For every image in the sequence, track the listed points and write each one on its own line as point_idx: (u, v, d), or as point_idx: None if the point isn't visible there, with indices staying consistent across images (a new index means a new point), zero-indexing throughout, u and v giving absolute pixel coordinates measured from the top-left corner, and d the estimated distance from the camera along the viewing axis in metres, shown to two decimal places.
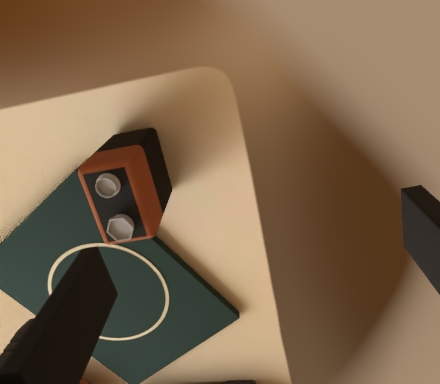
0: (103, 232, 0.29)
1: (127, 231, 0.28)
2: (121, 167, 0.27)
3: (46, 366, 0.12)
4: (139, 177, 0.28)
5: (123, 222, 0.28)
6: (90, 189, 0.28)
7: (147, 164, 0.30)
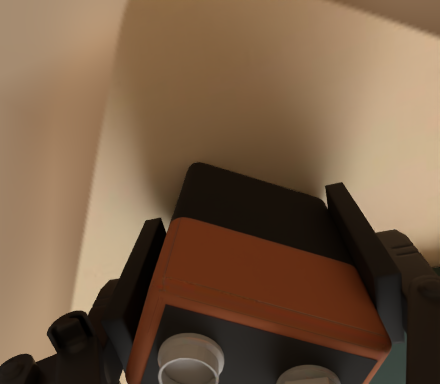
0: None
1: None
2: (164, 310, 0.10)
3: (137, 317, 0.13)
4: (218, 285, 0.10)
5: None
6: None
7: (222, 230, 0.12)
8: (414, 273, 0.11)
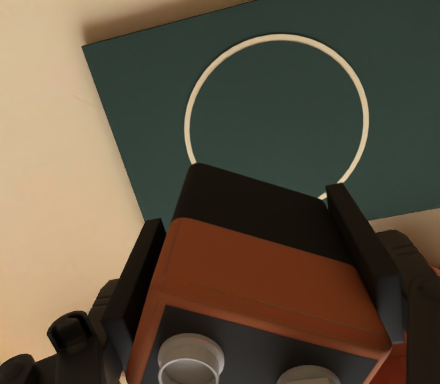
0: None
1: None
2: (164, 310, 0.10)
3: (137, 316, 0.13)
4: (218, 285, 0.10)
5: None
6: None
7: (222, 230, 0.12)
8: (414, 274, 0.11)
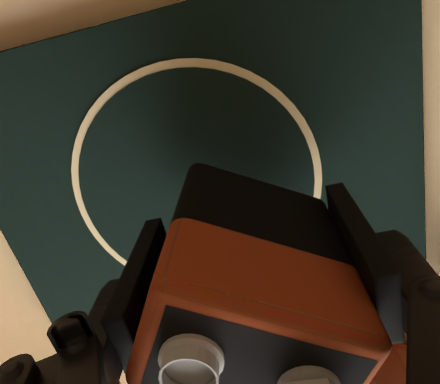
0: None
1: None
2: (164, 311, 0.10)
3: (137, 316, 0.13)
4: (218, 285, 0.10)
5: None
6: None
7: (222, 230, 0.12)
8: (414, 273, 0.11)
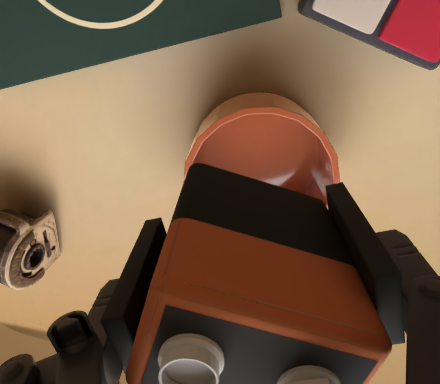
0: None
1: None
2: (164, 311, 0.10)
3: (137, 316, 0.13)
4: (218, 285, 0.10)
5: None
6: None
7: (222, 230, 0.12)
8: (414, 273, 0.11)
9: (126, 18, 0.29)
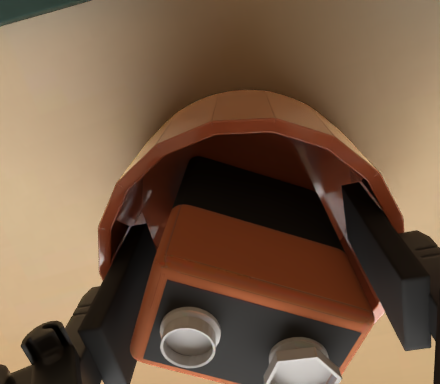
0: None
1: (317, 367, 0.11)
2: (165, 285, 0.10)
3: (117, 326, 0.13)
4: (215, 262, 0.11)
5: (292, 361, 0.11)
6: None
7: (219, 216, 0.13)
8: None
9: None
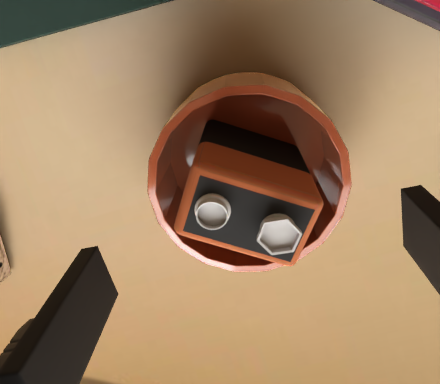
0: (272, 258, 0.19)
1: (288, 230, 0.18)
2: (198, 179, 0.18)
3: (46, 366, 0.12)
4: (228, 167, 0.18)
5: (273, 226, 0.18)
6: (207, 234, 0.19)
7: (229, 149, 0.21)
8: None
9: None
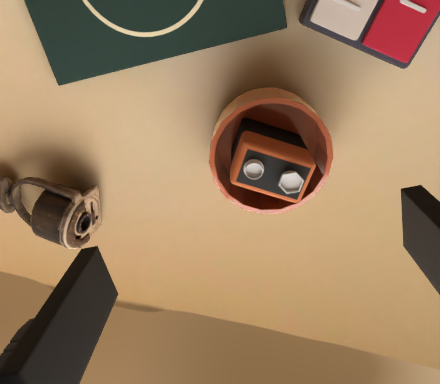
0: (287, 197, 0.34)
1: (296, 179, 0.32)
2: (246, 151, 0.32)
3: (46, 366, 0.12)
4: (262, 144, 0.32)
5: (287, 177, 0.32)
6: (249, 183, 0.33)
7: (260, 135, 0.35)
8: None
9: (164, 28, 0.36)
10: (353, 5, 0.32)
